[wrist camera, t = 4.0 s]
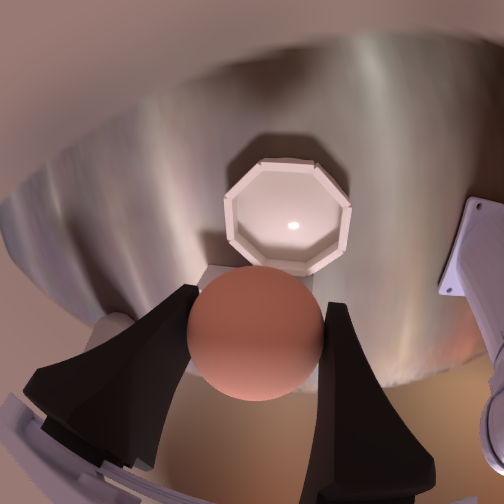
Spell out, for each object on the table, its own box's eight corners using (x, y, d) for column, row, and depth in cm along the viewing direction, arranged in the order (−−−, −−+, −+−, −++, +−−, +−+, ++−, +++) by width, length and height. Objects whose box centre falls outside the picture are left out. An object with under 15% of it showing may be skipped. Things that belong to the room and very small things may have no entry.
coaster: (353, 162, 15) (356, 168, 14) (339, 268, 19) (339, 280, 18) (228, 155, 17) (220, 161, 16) (235, 257, 21) (230, 268, 20)
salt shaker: (99, 302, 29) (37, 385, 18) (136, 309, 28) (72, 407, 17) (118, 336, 32) (68, 415, 22) (154, 344, 31) (104, 435, 20)
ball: (333, 245, 10) (336, 355, 6) (317, 333, 13) (309, 428, 9) (204, 234, 11) (145, 326, 7) (217, 321, 14) (183, 406, 10)
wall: (313, 275, 20) (310, 303, 18) (312, 286, 21) (309, 314, 18) (208, 264, 22) (194, 289, 19) (210, 274, 22) (196, 299, 20)
